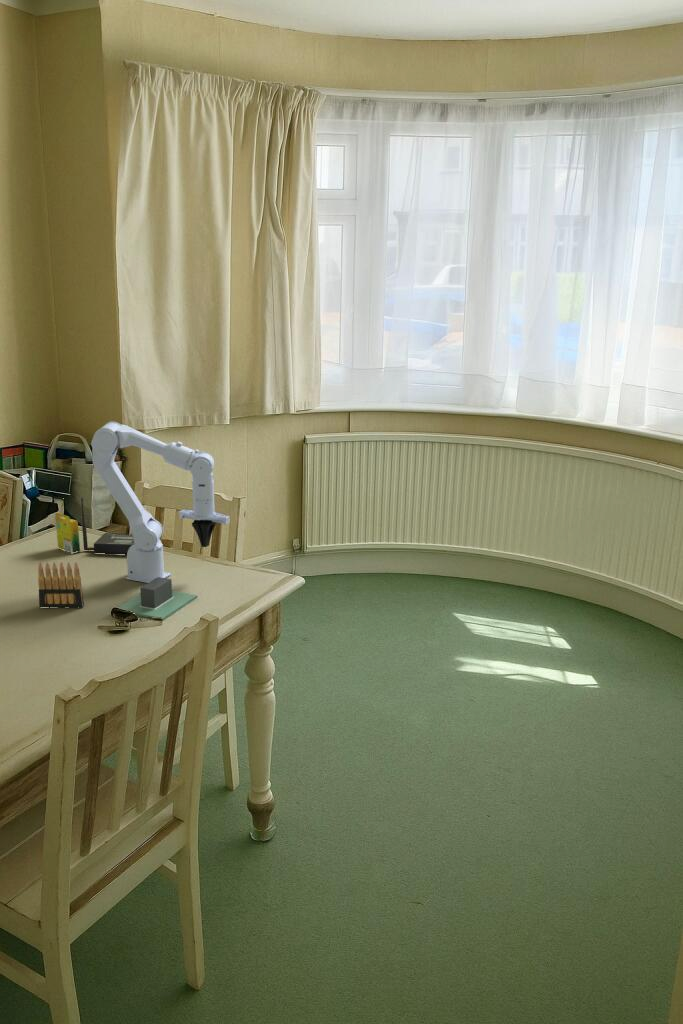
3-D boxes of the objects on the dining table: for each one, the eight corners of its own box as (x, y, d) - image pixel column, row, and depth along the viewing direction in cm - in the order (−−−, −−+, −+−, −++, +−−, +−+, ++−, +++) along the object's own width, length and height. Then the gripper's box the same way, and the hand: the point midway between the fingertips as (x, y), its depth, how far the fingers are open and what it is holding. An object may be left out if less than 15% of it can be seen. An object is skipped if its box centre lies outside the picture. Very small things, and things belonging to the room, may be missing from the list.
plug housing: (141, 606, 214) (140, 587, 213) (159, 594, 221) (158, 577, 220) (154, 608, 213) (153, 590, 211) (172, 597, 220) (171, 579, 218)
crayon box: (80, 552, 254) (77, 514, 251) (72, 554, 252) (69, 517, 248) (66, 546, 258) (63, 510, 255) (57, 549, 256) (54, 512, 253)
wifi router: (158, 544, 263) (155, 490, 258) (146, 559, 250) (143, 503, 245) (95, 542, 264) (91, 489, 259) (79, 557, 251) (74, 501, 246)
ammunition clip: (39, 608, 214) (35, 563, 210) (41, 605, 215) (37, 561, 212) (82, 608, 214) (78, 563, 211) (84, 605, 216) (80, 560, 213)
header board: (115, 611, 213) (114, 599, 212) (151, 589, 227) (151, 578, 226) (163, 620, 208) (162, 608, 207) (197, 597, 222) (197, 586, 221)
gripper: (172, 498, 228) (174, 546, 231) (219, 505, 222) (221, 553, 226) (186, 492, 234) (188, 539, 238) (232, 498, 229) (234, 546, 233)
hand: (205, 545), depth 232 cm, fingers closed
